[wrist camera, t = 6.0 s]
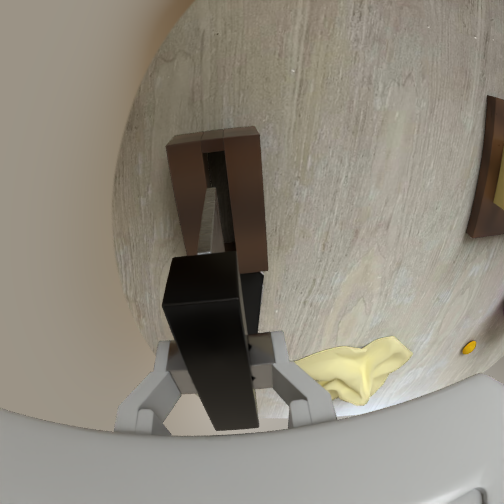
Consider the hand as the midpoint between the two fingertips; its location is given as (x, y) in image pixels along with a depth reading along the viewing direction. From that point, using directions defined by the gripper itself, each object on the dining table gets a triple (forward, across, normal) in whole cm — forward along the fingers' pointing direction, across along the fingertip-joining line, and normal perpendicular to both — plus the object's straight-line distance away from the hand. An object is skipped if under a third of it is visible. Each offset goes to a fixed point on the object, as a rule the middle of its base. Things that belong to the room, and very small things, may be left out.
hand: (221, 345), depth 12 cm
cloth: (+17, -16, +32) cm, 40 cm away
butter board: (+17, -36, -2) cm, 40 cm away
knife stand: (+17, 0, 0) cm, 17 cm away
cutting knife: (+6, 0, 0) cm, 6 cm away
